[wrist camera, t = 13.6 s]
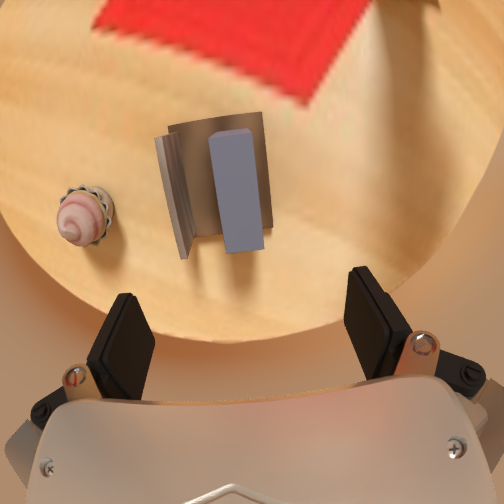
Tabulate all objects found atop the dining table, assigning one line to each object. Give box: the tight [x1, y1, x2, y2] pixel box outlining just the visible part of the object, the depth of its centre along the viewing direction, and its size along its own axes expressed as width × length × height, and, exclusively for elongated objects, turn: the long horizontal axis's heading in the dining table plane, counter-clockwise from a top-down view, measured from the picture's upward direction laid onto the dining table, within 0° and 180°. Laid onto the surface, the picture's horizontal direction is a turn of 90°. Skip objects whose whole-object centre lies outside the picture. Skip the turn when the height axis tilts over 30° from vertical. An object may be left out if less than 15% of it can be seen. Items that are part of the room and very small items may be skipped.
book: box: [208, 128, 264, 254], centre depth 31 cm, size 4×12×10 cm, turn 6°
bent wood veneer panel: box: [154, 112, 273, 259], centre depth 32 cm, size 12×16×10 cm
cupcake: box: [57, 185, 114, 247], centre depth 33 cm, size 9×9×10 cm
